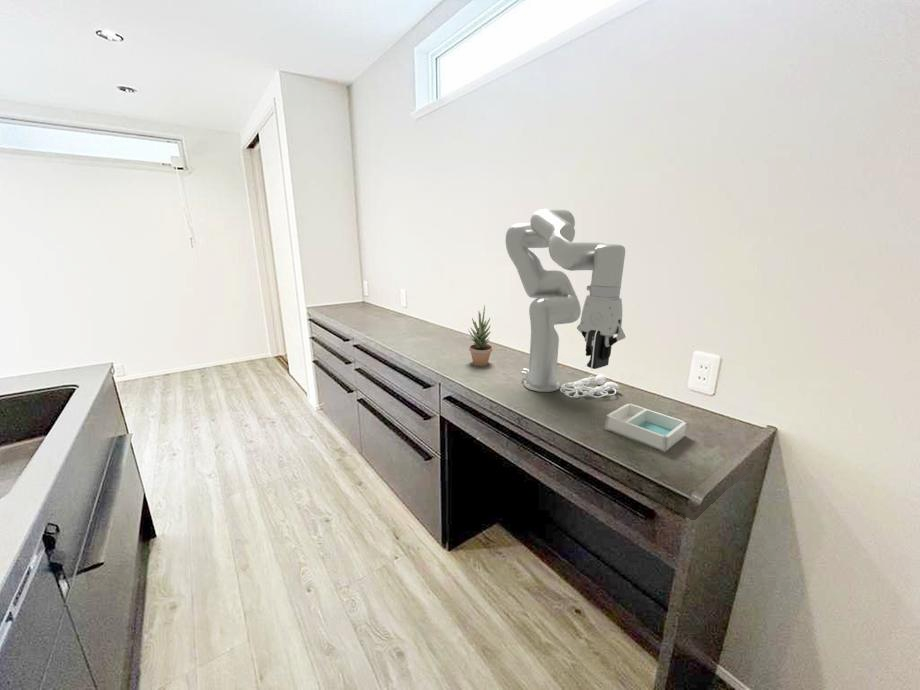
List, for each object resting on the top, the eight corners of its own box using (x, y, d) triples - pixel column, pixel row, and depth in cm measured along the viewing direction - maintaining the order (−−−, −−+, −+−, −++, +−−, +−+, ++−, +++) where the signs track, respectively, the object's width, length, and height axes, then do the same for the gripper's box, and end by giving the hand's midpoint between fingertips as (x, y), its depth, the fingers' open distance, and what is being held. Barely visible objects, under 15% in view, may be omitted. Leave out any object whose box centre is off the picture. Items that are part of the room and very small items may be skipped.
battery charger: (597, 361, 112) (602, 323, 109) (609, 365, 110) (614, 326, 106) (582, 366, 109) (586, 327, 105) (593, 370, 106) (598, 329, 102)
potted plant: (480, 368, 154) (482, 307, 147) (464, 363, 161) (465, 304, 154) (497, 363, 161) (499, 304, 154) (481, 358, 167) (482, 301, 161)
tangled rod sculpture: (573, 407, 123) (574, 395, 122) (551, 387, 136) (552, 376, 135) (625, 399, 128) (627, 388, 127) (599, 380, 141) (601, 370, 139)
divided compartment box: (604, 428, 106) (605, 415, 105) (626, 415, 115) (628, 402, 114) (664, 452, 95) (666, 438, 94) (684, 435, 103) (687, 422, 102)
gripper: (569, 289, 107) (564, 352, 112) (628, 297, 95) (619, 367, 100) (584, 287, 111) (578, 347, 117) (642, 294, 99) (632, 361, 105)
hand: (597, 356), depth 108 cm, fingers closed on battery charger, 4 cm apart
